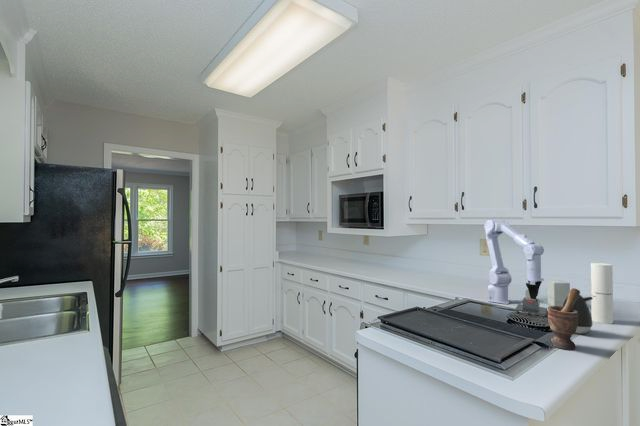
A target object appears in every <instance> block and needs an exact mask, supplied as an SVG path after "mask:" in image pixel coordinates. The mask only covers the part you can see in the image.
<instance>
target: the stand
mask: <svg viewBox="0 0 640 426" xmlns="http://www.w3.org/2000/svg"><path fill="white" fill-rule="evenodd" d="M536 300H537V301H531V300H526V296H524V297H523V298H522V304H520V303H519V304H517V305H516V306H515V309H514V312H515V311H522V312H528V313H534V314H539V315H544V316H546V317H547V315H548V307H542V306H541V307H540V298H536Z"/></svg>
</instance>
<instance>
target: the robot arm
mask: <svg viewBox="0 0 640 426" xmlns="http://www.w3.org/2000/svg"><path fill="white" fill-rule="evenodd" d="M483 226H484V232H485V239H486V243H487V248H488V253H489V257H490V263H491V267H492V268H491V269H490V270H488V274H489V277H488V278H489V279H488V280H489V282H490V284H488V286H487V302H489V303H498V304H504V305H509V303H510V302H511V300H509V286H510V284H511V282H512V279H513V278H512V275H511V274H510V272H509V269H508V268H507V267H505V265H504V263H503V258H502V253H501V248H500V245H499V239H498V238H499V236H501V235H502V234H506V235H507V236H509V237H510V238H512V239H513V242H514V244H515V245H517V246H518V247H519V248H521V249H522V250H523V254H524V255H525V259H526V277H525V278H526V279H525V280H526V281H527V282H526V283H525V286H526V288H527V290H529V294H530V298H531V299H537V298H538V295H539V291H540V286H541V284H542V282H543V281H545V278H542V256H543V254H544V252H545V249H544V247H543V245H542V244H541V243H536V242H535V241H534V240H532V239H530V238H529V237H527V234H522V233H521V234H520V233H519V232H517V231H516V230H515V229H513V227H512V226H511V225H509V222H508V221H506V220H505V219H499V220H498V219H497V220H496V219H492V220H491V219H488V220H487V221H486V222H485V223H484V225H483Z"/></svg>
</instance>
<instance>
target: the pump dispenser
mask: <svg viewBox="0 0 640 426" xmlns="http://www.w3.org/2000/svg"><path fill="white" fill-rule="evenodd" d="M567 299H568V296H567V298H566V299H565V301H564V303H563V306H562V307H565V305H566V302H567ZM592 299H593V298H592V297H591V296H587V297H583V296H582V295H581V294H580V295H579V297H578V299H577V300H576V302H575V303H574V305H573V307H572V309H574V310H576V311H577V312H578V325H577V329H576V332H575V333H574V334H577V333H578V335H582V334H583V335H584V334H587V333H589V332H590V330H591V329H592V326H593V321H592V312H591V309H590V307H589V305H588V304H587V302H589V301H591V300H592Z"/></svg>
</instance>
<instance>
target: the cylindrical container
mask: <svg viewBox="0 0 640 426" xmlns="http://www.w3.org/2000/svg"><path fill="white" fill-rule="evenodd" d="M613 278H614V276H613V264H612V263H606V262H603V263H601V262H590V292H591V294H590V297H592V298H593V299H592V300H590V305H591V309H590V313H591V317H592V322H595V323H599V324H603V325H605V324H606V325H612V324H614V307H613V306H614V289H613V288H614V287H613V285H614V284H613V283H614V282H613Z"/></svg>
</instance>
